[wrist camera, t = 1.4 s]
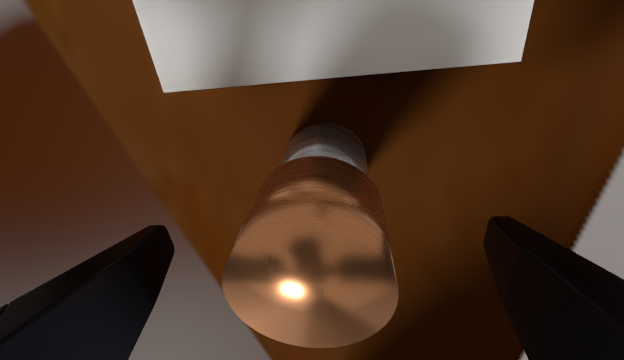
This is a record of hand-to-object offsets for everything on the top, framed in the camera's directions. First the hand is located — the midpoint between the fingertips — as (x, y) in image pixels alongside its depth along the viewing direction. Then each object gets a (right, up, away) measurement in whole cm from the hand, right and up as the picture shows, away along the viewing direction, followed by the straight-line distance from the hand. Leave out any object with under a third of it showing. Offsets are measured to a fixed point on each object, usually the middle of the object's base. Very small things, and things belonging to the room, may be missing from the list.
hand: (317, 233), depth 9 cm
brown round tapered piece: (0, +2, +4) cm, 4 cm away
